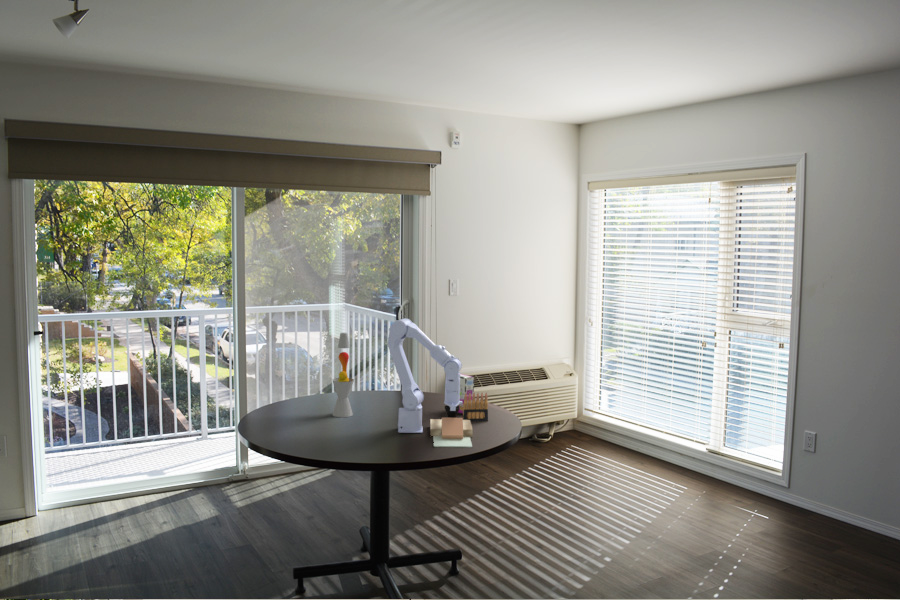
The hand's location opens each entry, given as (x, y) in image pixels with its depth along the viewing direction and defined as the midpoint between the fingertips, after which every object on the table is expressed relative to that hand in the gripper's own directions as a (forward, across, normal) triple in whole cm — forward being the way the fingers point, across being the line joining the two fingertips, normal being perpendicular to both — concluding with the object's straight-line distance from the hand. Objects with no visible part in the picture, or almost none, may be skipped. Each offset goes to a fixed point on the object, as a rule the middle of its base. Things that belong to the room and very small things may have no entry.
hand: (451, 424), depth 248 cm
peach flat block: (+1, -4, 0) cm, 4 cm away
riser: (+4, +3, 0) cm, 5 cm away
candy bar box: (+4, +34, -6) cm, 35 cm away
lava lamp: (+4, +26, +45) cm, 52 cm away
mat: (+4, -10, 0) cm, 11 cm away
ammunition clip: (+4, +20, -11) cm, 23 cm away
